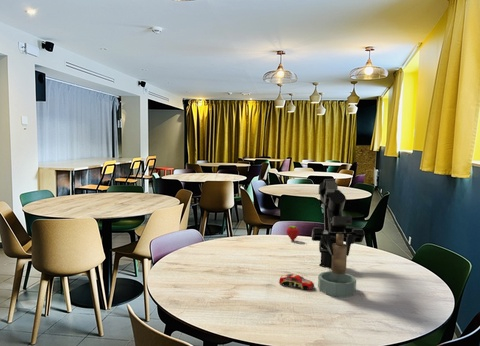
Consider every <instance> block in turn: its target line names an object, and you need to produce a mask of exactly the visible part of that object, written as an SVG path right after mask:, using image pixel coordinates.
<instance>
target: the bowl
mask: <svg viewBox="0 0 480 346" xmlns="http://www.w3.org/2000/svg"><path fill="white" fill-rule="evenodd" d="M317 277H318V278H317V279H318V280H317V288H318V290H319V291H320V292H321V293H322V294H325V295H327V296H333V297H339V298H342V297H343V298H347V297H350V296H354V295H355V294H356V291H357V279H356V277H355V276H354V275H351V274H349V273H347V272H346V273H345V274H335V273H333V272H332V271H331V270H329V271H328V270H327V271H324V272H322V271H321V273H319V274H318V275H317Z"/></svg>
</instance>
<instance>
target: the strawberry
mask: <svg viewBox="0 0 480 346" xmlns="http://www.w3.org/2000/svg"><path fill="white" fill-rule="evenodd" d="M286 234H287V236H288V237H289V239H290V240H291V241H292V242H294V241H295V240H296V239H297V238H298V236H299V234H300V230H299V228H298V226H295V225H290V226H287V228H286Z"/></svg>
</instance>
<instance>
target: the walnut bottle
mask: <svg viewBox="0 0 480 346" xmlns="http://www.w3.org/2000/svg"><path fill="white" fill-rule="evenodd" d="M344 238H345V237H344V234H341V233H337V234H336V243H334V244H332V249H333V256H332V268H331V270H330V271H332V272H333V273H335V274H345V273H347V261H348V260H347V258H348V256H347V245H346V243H344V240H345V239H344Z"/></svg>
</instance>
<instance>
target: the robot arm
mask: <svg viewBox="0 0 480 346" xmlns="http://www.w3.org/2000/svg"><path fill="white" fill-rule="evenodd" d="M336 182H337V181H336V179H333V178H325V179H323V181H322V182H320V183H319V186H318V195H319V199H320V201H321V202H322V203H323V224H324V227H313V228H312V230H311V241H313V242H319V243H318V250H319V253H320V263H319V265H318V266H319V267H324V268H332V256H333V249H332V244H334V243H336V234H337V233H341V234H344V238H346V241H345V244H346V245H347V257H349V256H350V255H349V254H350V251H351V246H352V245H354V244H355V243H362V242H363V240H364V237H365V231H364V229H363V228H352V229H351V231H346V230H347V226H348V225H352V223H353V218H352V215H351V214H347V215H345V216H344V215H343V210H344V207H345V203H346V202H347V197H346V195H345V194H344V193H343V192H342V191H341V190H340V189H338V188H339V187H338V183H336Z"/></svg>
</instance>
